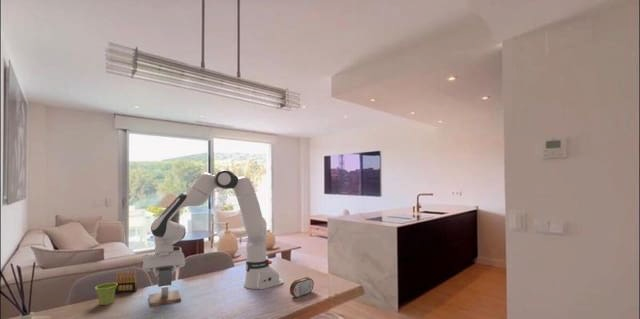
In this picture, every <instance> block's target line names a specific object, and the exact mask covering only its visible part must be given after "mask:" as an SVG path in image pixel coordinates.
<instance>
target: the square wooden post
mask: <svg viewBox="0 0 640 319" xmlns="http://www.w3.org/2000/svg"><path fill="white" fill-rule="evenodd" d="M160 287H161V290H160V291H161V292H160V293H161V297H162V298H164V297H168V292H169V285H167V286H160Z"/></svg>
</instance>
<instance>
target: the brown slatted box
mask: <svg viewBox="0 0 640 319" xmlns="http://www.w3.org/2000/svg"><path fill="white" fill-rule="evenodd" d="M115 274H116V276H115V283H117V284H118V285H117V287H116V290H115V294H119V293H120V294H122V293H136V292H137V291H138V286H137V285H138V284H137V271H136V269H134V270H132V269H130V271H129V269H127V271H126V270H125V269H124V270H123V271H122V270H121V269H120V272H119V270H117V271H116V273H115ZM135 291H136V292H135Z"/></svg>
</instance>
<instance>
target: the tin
mask: <svg viewBox="0 0 640 319" xmlns="http://www.w3.org/2000/svg"><path fill="white" fill-rule="evenodd" d="M314 286H315V285H314V280H313V279H312V278H310V277H308V276H305V277H303V278H299V279H296V280H294V281H293V282H292V283H291V284H290V287H289V294H290V295H291V296H292V297H294V298H300V297H302V296H305V295H309V294H311V292H312V291H313V289H314Z"/></svg>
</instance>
